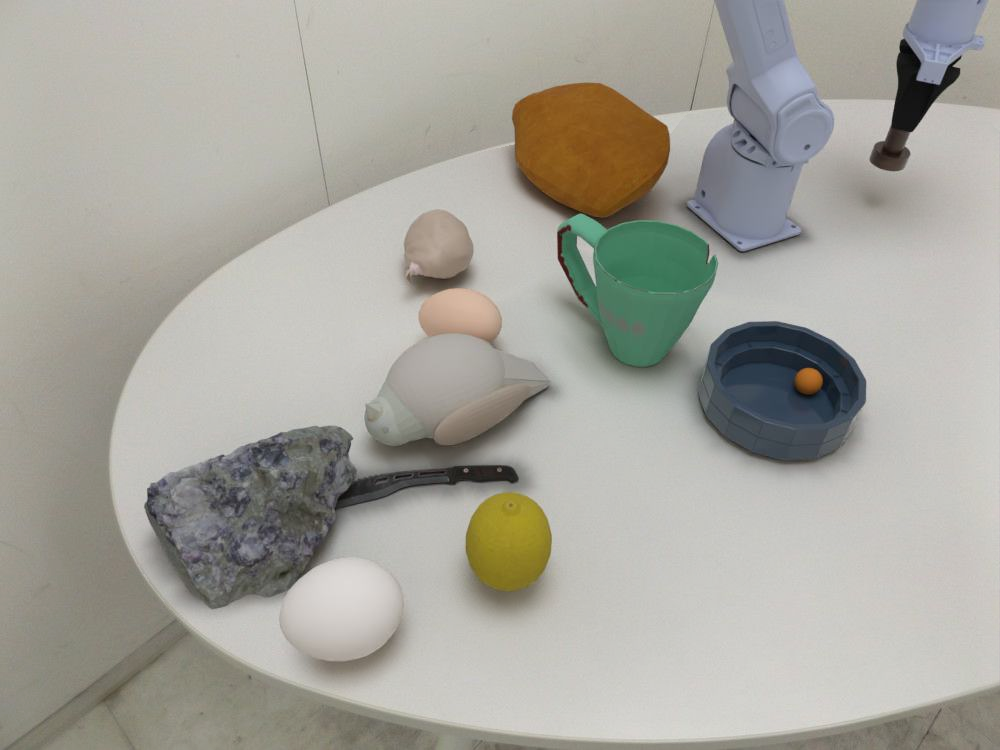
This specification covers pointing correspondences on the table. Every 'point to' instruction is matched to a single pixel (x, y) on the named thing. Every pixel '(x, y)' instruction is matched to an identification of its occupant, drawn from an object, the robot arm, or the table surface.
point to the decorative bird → (450, 391)
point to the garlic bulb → (437, 246)
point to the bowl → (781, 390)
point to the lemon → (508, 541)
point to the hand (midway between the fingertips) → (902, 123)
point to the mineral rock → (252, 512)
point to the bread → (589, 147)
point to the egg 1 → (342, 609)
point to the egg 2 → (460, 314)
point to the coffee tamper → (891, 151)
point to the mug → (638, 282)
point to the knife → (420, 480)
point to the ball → (808, 381)
